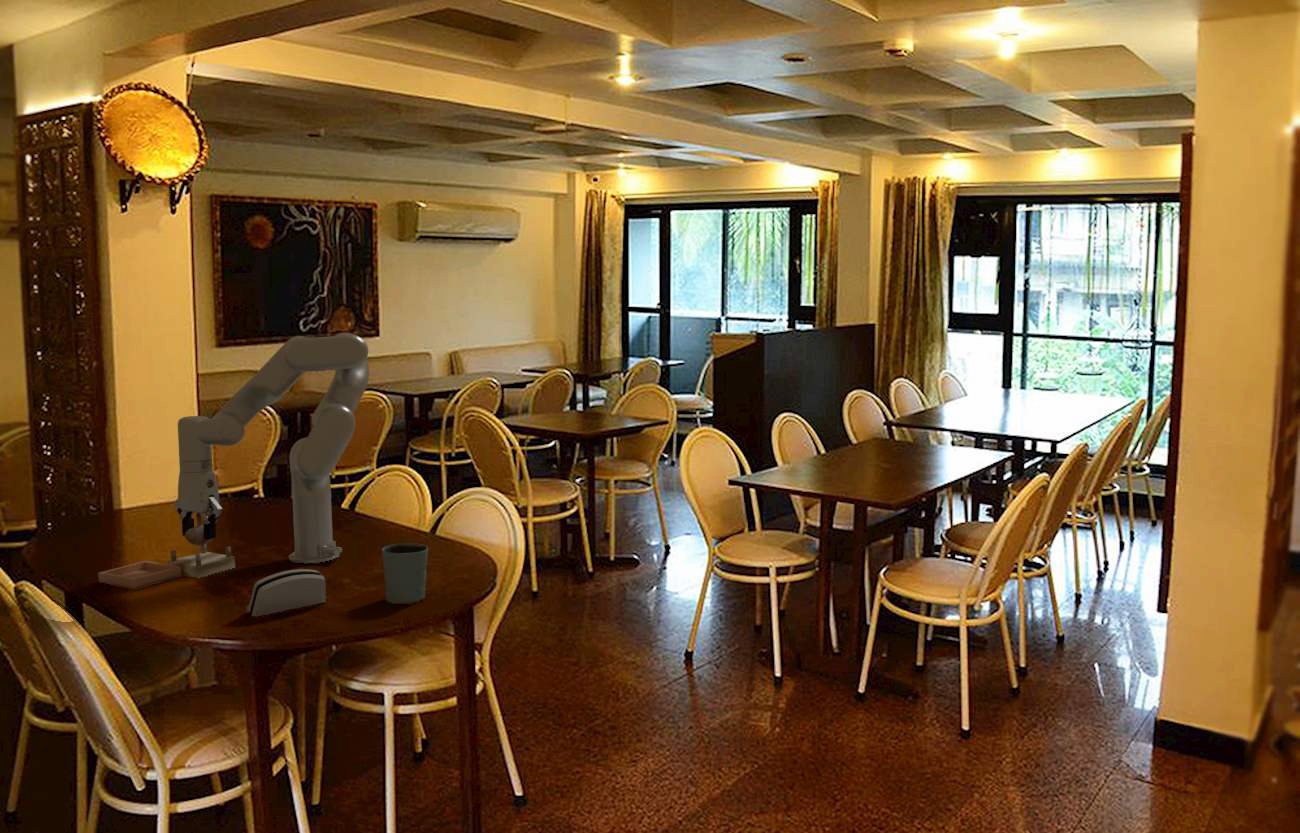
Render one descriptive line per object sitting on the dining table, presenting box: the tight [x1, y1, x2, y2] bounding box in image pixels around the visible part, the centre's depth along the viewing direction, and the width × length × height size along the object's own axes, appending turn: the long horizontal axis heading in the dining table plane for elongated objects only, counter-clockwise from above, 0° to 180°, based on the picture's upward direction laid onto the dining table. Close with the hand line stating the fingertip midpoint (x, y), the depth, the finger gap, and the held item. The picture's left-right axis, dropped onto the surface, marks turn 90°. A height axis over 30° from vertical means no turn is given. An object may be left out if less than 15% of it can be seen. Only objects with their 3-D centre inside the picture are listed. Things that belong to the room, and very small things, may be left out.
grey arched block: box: [246, 568, 327, 617], centre depth 245 cm, size 17×5×10 cm, turn 131°
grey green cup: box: [381, 542, 429, 603], centre depth 252 cm, size 10×10×12 cm
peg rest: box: [167, 543, 236, 579], centre depth 278 cm, size 11×11×6 cm
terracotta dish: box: [97, 560, 182, 590], centre depth 270 cm, size 13×13×2 cm
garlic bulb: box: [184, 513, 213, 547], centre depth 277 cm, size 8×7×8 cm
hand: (199, 536), depth 277 cm, fingers closed on garlic bulb, 7 cm apart
